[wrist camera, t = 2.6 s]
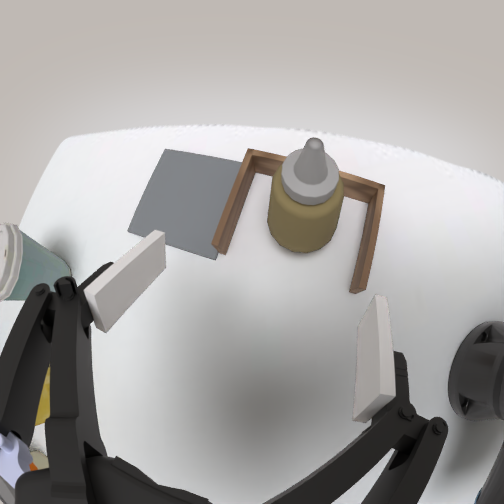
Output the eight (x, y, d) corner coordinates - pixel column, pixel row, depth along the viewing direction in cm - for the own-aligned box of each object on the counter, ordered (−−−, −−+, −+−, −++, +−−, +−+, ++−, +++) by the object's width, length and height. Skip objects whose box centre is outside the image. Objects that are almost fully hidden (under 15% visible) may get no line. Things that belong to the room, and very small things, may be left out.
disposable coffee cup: (41, 311, 36) (-26, 300, 22) (43, 251, 39) (-19, 226, 24) (81, 309, 35) (6, 298, 21) (82, 241, 38) (15, 209, 23)
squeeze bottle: (265, 202, 36) (250, 107, 18) (326, 197, 35) (355, 102, 18) (271, 262, 34) (259, 203, 17) (336, 256, 33) (385, 194, 16)
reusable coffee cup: (39, 436, 30) (-14, 452, 16) (77, 489, 27) (30, 516, 13) (21, 450, 29) (-24, 463, 15) (54, 496, 26) (13, 518, 12)
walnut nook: (374, 200, 34) (384, 185, 30) (355, 293, 32) (365, 289, 28) (251, 166, 37) (247, 148, 33) (219, 253, 35) (210, 243, 31)
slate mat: (250, 165, 37) (250, 164, 37) (215, 260, 35) (214, 259, 34) (166, 150, 40) (165, 148, 39) (128, 232, 37) (127, 231, 37)
